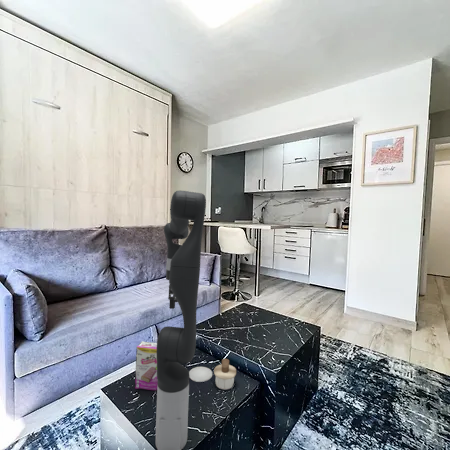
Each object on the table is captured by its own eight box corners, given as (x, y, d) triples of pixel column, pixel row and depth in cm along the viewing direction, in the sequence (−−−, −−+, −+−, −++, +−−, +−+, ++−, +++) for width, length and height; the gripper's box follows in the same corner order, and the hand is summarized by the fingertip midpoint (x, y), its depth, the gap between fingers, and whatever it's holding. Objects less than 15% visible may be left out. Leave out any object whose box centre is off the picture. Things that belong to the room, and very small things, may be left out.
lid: (237, 379, 96) (238, 366, 96) (214, 379, 95) (215, 367, 95) (234, 365, 105) (234, 354, 105) (213, 366, 104) (213, 354, 104)
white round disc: (212, 382, 101) (212, 381, 101) (187, 381, 100) (187, 380, 100) (212, 367, 111) (212, 366, 111) (189, 367, 110) (189, 366, 110)
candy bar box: (134, 389, 95) (135, 346, 94) (139, 381, 100) (141, 340, 99) (162, 392, 93) (163, 349, 93) (166, 384, 98) (168, 343, 98)
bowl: (236, 387, 98) (236, 375, 98) (219, 391, 95) (220, 378, 95) (229, 377, 104) (229, 365, 104) (213, 380, 102) (214, 368, 102)
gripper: (181, 271, 102) (180, 311, 102) (185, 265, 116) (184, 300, 116) (163, 271, 101) (161, 310, 101) (169, 265, 115) (168, 299, 116)
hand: (173, 305), depth 109 cm, fingers open, 8 cm apart
